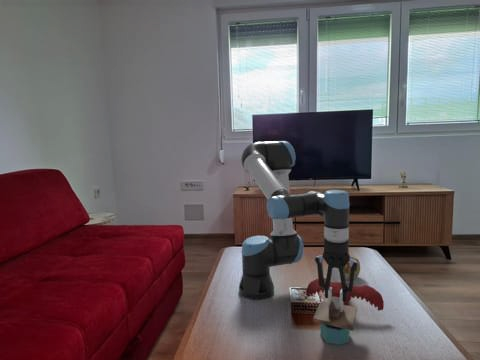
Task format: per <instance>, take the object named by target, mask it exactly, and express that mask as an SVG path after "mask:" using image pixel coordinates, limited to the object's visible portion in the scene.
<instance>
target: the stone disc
mask: <svg viewBox="0 0 480 360" xmlns="http://www.w3.org/2000/svg"><path fill="white" fill-rule="evenodd" d="M350 258H351V259H353V260H357V261H358V264H357V267H356V268H355V275H354V280H355V279H356V278H358V276H359V275H360V271H361V263H360V261H359V259H358V258H357V257H355V256H350ZM344 270H345V276H346V280H349V279H350V270H351V266H350V262H348V263H347V264H346V265H345V266H344Z"/></svg>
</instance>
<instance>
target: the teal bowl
mask: <svg viewBox="0 0 480 360" xmlns="http://www.w3.org/2000/svg"><path fill="white" fill-rule="evenodd" d="M320 337H321V338H322V339H323V340H325V342H326V343H330V344H333V345H337V346H340V345H344V344H347V343H349V341H350V338H351V330H349V329H344V328H339V327H335V326H330V325H326V324H321V323H320Z"/></svg>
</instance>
